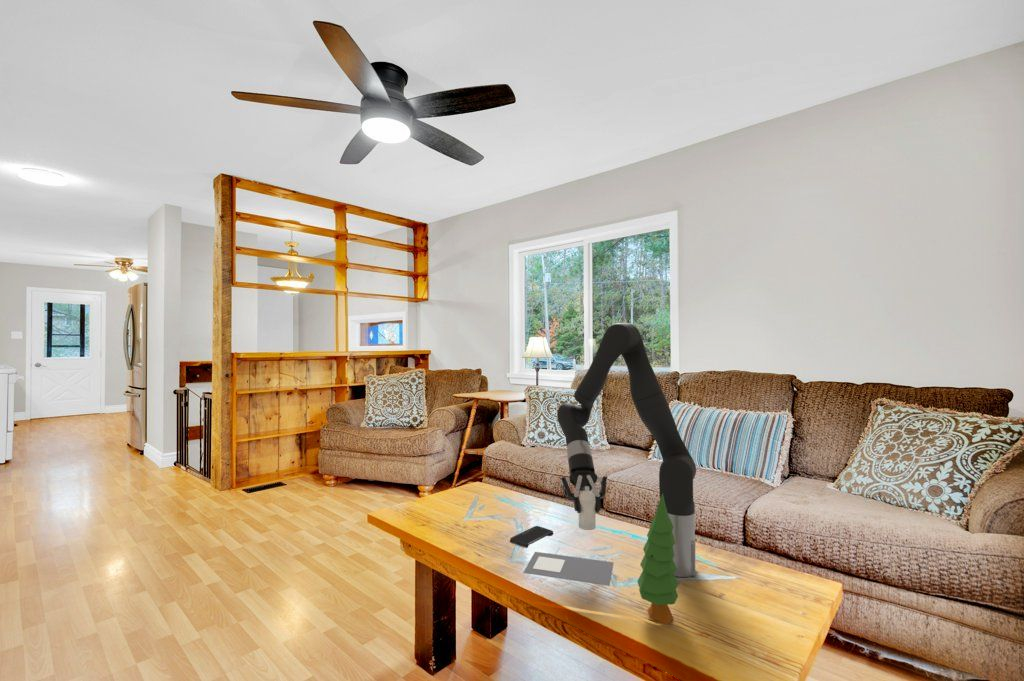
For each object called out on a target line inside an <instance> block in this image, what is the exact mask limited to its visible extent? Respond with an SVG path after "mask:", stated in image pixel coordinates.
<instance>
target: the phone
mask: <svg viewBox="0 0 1024 681" xmlns="http://www.w3.org/2000/svg"><path fill="white" fill-rule="evenodd" d="M550 535H551V536H552V535H554V531H553V530H552V529H548V528H545V527H543V526H540V525H534V526H532V527H530V528H528V529H526V530H523V531H522V532H519V533H518V534H516V535H514V536H511V537H510V539H509V540H510V542H511V543H514V544H517V545H519V546H522V547H525V548H528V547H529V546H530V545H531V544H534V543H535V542H537V541H539V540H541V539H543V538H545V537H550Z"/></svg>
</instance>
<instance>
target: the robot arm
mask: <svg viewBox="0 0 1024 681" xmlns="http://www.w3.org/2000/svg"><path fill="white" fill-rule="evenodd" d="M620 356H622V357H623V360H624V362H625V365H626V367H627V371H628V376H629V390H630V396H631V400H632V402H633V404H634V407H635V409H636V412H637V414H638V416H639V418H640V420H641V421H642V423H643V425H644V426H645V427H646V429H647V430H648V431H649V433H650V434H651V436H652V437H653V438H654V439H653V440H655V442H656V444H657V447H658V450H659V452H660V455H661V459H662V462H661V464H660V466H659V472H658V475H659V476H658V485H659V486H658V487H659V488H658V490H659V491H658V492H659V499H660V498H661V496H662V494H663V496H664V501H665V505H666V509H667V512H668V516H669V518H670V520H671V522H672V525H673V527H674V528H673V530H672V533H673V536H674V540H675V544H674V545H673V550H674V554H675V556H674V558H673V561H674V563H675V566H676V568H677V571H675V572H674V575H675V577H676V578H677V577H678V578H688V577H696V539H695V538H696V537H695V535H696V533H695V532H696V530H695V528H696V525H695V524H696V523H695V522H696V520H695V519H696V516H695V514H696V513H695V512H696V508H695V507H696V504H695V501H694V478H695V477H696V474H697V468H696V467H697V465H696V463H695V460H694V459H693V457H692V456H691V454H690V452H689V450H688V448H687V446H686V445H685V442H684V441H683V438H682V437H681V435H680V433H679V429H678V428H677V425H676V421H675V419H674V416H673V413H672V411H671V408H670V405H669V403H668V400H667V398H666V396H665V393H664V392H663V389H662V387H661V384H660V383H659V380H658V378H657V375H656V373H655V372H654V369H653V367H652V365H651V362H650V361H649V357H648V354H647V351H646V347H645V344H644V341H643V338H642V334H641V333H640V330H639V329H638V328H637V326H636V325H634V324H633V323H630V322H618V323H617V322H616V323H612V324H611V325H609V326H608V327H607V328H606V330H605V332H604V333H603V335H602V338H601V340H600V343H599V346H598V348H597V351H596V353H595V356H594V358H593V359H592V362H591V364H590V366H589V368H588V370H587V371H586V373H585V375H584V376H583V378H582V379H581V381H580V383H579V385H578V386H577V388H576V389H575V391H574V393H573V397H574V399H575V401H576V402H577V403H579V404H580V405H575V404H573V403H570V402H563V403H562V404H561V405H559V407H558V409H557V412H556V417H557V422H558V424H559V426H560V429H561V431H562V433H563V436H564V437H565V443H566V455H567V457H566V459H567V463H568V470H569V477H565V476H563V477H561V478H560V485H561V487H562V490H563V492H564V495H565V497H566V499H567V500H571V501H573V507H574V511H575V512H576V513H577V514H579V513H580V511H581V508H580V501H579V495H580V492H582V491H584V490H585V486H588V487H589V491H591V492H593V493H594V495H595V498H596V514H600V512H601V509H602V503H601V499H604V498H605V495H606V493H607V491H606V490H607V480H608V478H607V477H606V476H603V477H600V476H598V474H596V470H595V465H594V461H593V454H592V449H591V447H590V441H589V437H588V432H587V430H586V429H585V428H584V427H585V426H586V425H587V424H588V423H589V420H590V417H591V413H592V411H593V407H594V404H595V401H596V400H597V398H598V397H599V396H600V394H601V392H602V391H603V389H604V387H605V384H606V382H607V378H608V374H609V372H610V370H611V368H612V366H613V365H614V363H615V362H616V361H617V359H618V358H619V357H620ZM597 482H598V485H599V486H600V492H599V491H598V488H597V486H596V483H597ZM570 484H571V485H572V486H573V487H574V492H572V491H571V488H570Z"/></svg>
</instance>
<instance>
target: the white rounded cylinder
mask: <svg viewBox="0 0 1024 681" xmlns="http://www.w3.org/2000/svg"><path fill="white" fill-rule="evenodd" d="M578 498H579V501H580V508H581V511H580V513H578V528H579V529H581V530H583V531H593V530H595V529H596V527H597V526H596V525H597V524H596V523H597V522H596V517H597V516H596V515H597V513H596V498H595V495H594V493H593V492H591V491H589V487H588V486H585V490H583V491H580V492H579V494H578Z"/></svg>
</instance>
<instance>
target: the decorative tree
mask: <svg viewBox="0 0 1024 681" xmlns="http://www.w3.org/2000/svg"><path fill="white" fill-rule="evenodd" d="M656 507H657V508H656V511H655V513H654V516H653V518H652V520H651V523H650V524H649V527H650V528H649V529H648V531H647V534H646V537H647V539H646V542H645V544H644V546H643V548H642V549H643V550H642V551H643V553H644V556H643V558H642V560H641V561H640V567H641V569H642V572H641V573H640V576H639V577H638V579H637V585H638V590H639V594H640V597H641V599H642V600H644V601H646V602H649V603H650V604H651V605H650V606H649V608H648V609H647V610H646V612H647V615H648V617H649V618H650V619H648V621H649V622H652V623H655V624H663V625H668V624H669V623H670V622H671V621H672V620H673V619H674V616H673V614H672V612H671V608H670V607H669V605H675V604H676V601H678V600H677V599H678V598H679V595H678V592H677V588H678V586H679V584H680V583H679V581H678V578H677V576H675V575H674V572H675V571H677V568H676V566H675V563H674V561H673V558H674V556H675V554H674V550H673V545H674V544H675V540H674V536H673V533H672V530H673V528H674V527H673V525H672V522H671V520H670V518H669V516H668V512H667V509H666V505H665V501H664V496H663V494H662V496H661V498H660V497H659V501H658V504H657V506H656Z"/></svg>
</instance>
